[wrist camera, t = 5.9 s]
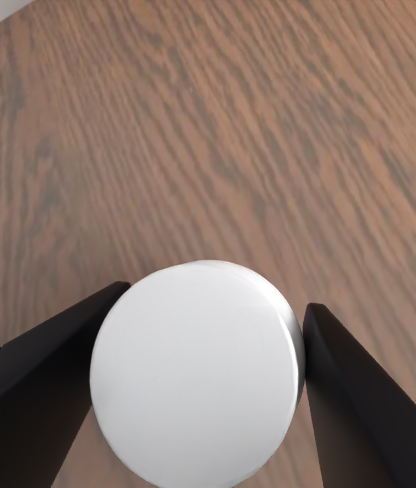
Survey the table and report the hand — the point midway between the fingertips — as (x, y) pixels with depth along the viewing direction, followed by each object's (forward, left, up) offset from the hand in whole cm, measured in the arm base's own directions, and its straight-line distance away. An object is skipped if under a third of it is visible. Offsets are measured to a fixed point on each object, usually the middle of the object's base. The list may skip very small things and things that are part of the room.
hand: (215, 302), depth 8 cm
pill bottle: (-1, -1, -7) cm, 7 cm away
